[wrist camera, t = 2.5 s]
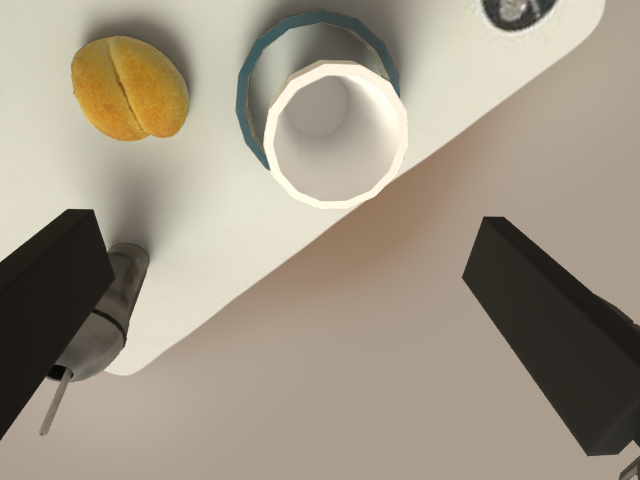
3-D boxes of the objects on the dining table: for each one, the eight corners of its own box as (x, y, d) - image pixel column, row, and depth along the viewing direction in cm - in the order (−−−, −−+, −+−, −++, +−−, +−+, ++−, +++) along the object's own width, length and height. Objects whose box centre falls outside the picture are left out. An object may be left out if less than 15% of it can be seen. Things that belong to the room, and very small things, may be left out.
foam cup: (382, 81, 32) (437, 111, 21) (335, 165, 36) (361, 226, 25) (292, 26, 29) (303, 29, 18) (252, 125, 33) (241, 176, 22)
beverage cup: (106, 221, 37) (-35, 388, 20) (171, 250, 39) (95, 416, 23) (86, 267, 40) (-51, 446, 23) (148, 290, 42) (66, 464, 26)
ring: (297, 198, 38) (299, 211, 35) (205, 80, 30) (199, 85, 28) (413, 123, 34) (424, 131, 32) (342, -29, 27) (349, -35, 25)
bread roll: (201, 130, 33) (192, 142, 29) (107, 139, 32) (87, 153, 29) (174, 30, 28) (161, 32, 25) (64, 39, 27) (35, 42, 24)
